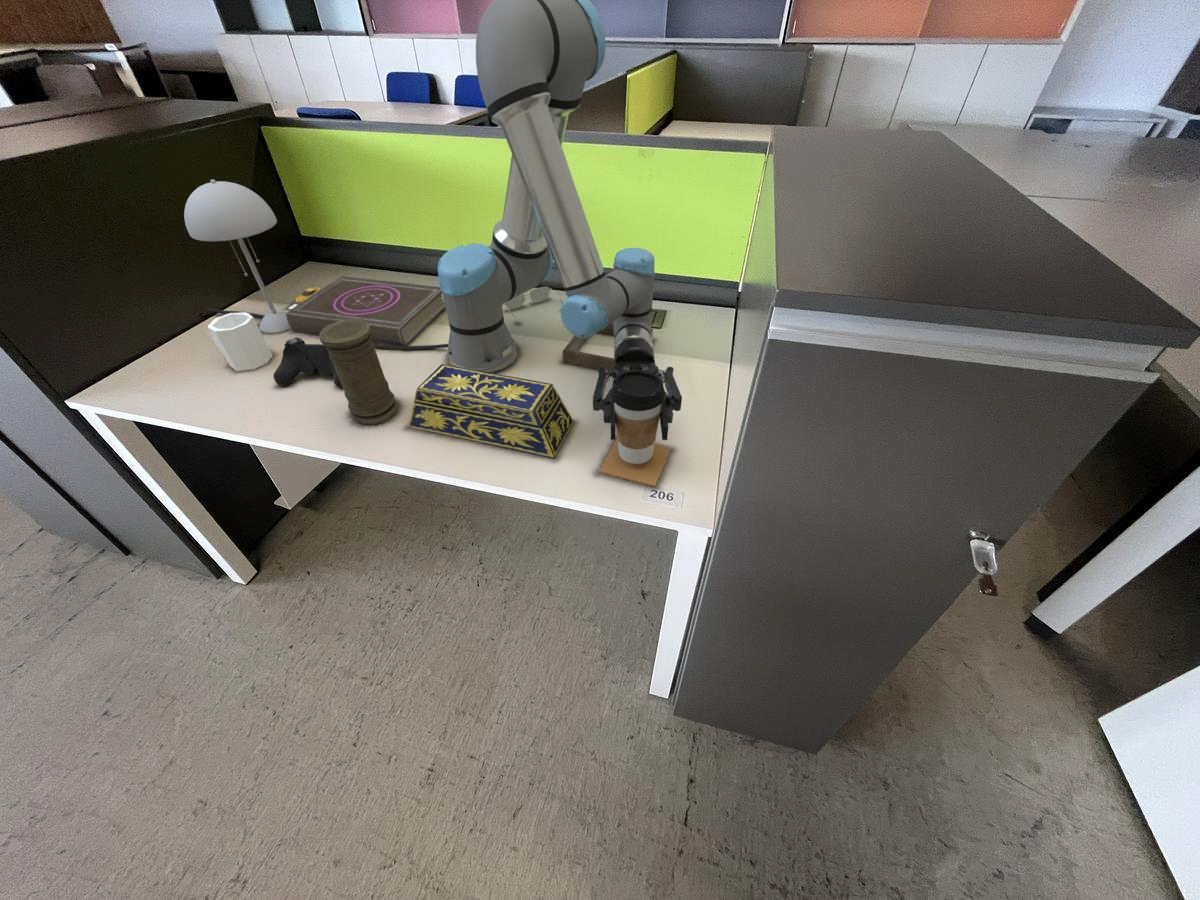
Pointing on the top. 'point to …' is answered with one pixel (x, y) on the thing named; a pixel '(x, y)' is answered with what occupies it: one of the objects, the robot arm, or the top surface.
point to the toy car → (305, 296)
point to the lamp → (233, 228)
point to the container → (359, 371)
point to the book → (370, 308)
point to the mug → (239, 341)
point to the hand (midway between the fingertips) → (639, 433)
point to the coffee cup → (637, 413)
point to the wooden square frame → (585, 358)
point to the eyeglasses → (535, 296)
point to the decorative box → (492, 410)
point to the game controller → (304, 362)
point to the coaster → (636, 466)
